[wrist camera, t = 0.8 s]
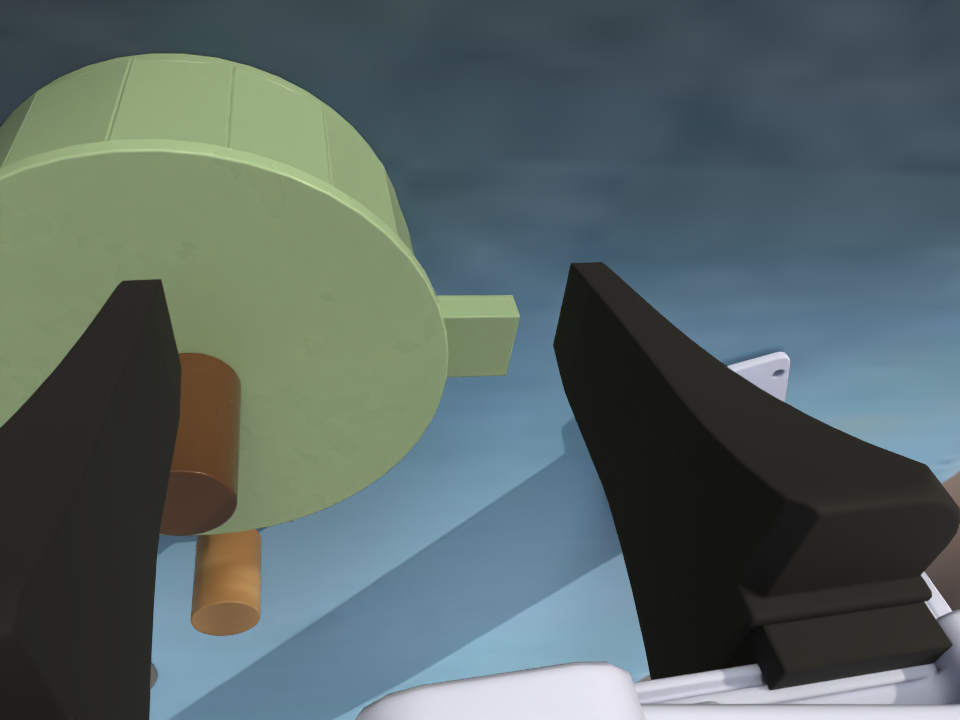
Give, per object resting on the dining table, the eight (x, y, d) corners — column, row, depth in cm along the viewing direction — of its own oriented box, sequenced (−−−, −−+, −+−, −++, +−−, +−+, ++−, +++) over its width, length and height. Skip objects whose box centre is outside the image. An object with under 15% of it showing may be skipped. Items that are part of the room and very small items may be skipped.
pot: (458, 381, 31) (486, 494, 27) (-56, 398, 26) (-112, 535, 22) (514, 74, 22) (566, 173, 18) (-224, 25, 18) (-359, 141, 14)
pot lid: (418, 493, 27) (440, 624, 23) (-16, 522, 24) (-64, 678, 20) (473, 138, 18) (522, 264, 15) (-213, 106, 15) (-360, 260, 11)
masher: (293, 456, 32) (296, 587, 27) (293, 509, 34) (296, 636, 30) (161, 462, 30) (144, 600, 26) (172, 516, 33) (157, 650, 29)
